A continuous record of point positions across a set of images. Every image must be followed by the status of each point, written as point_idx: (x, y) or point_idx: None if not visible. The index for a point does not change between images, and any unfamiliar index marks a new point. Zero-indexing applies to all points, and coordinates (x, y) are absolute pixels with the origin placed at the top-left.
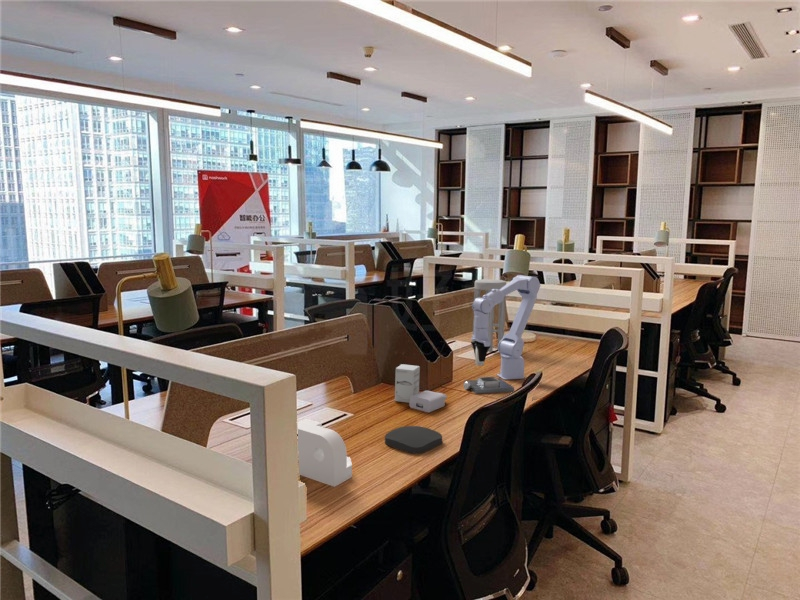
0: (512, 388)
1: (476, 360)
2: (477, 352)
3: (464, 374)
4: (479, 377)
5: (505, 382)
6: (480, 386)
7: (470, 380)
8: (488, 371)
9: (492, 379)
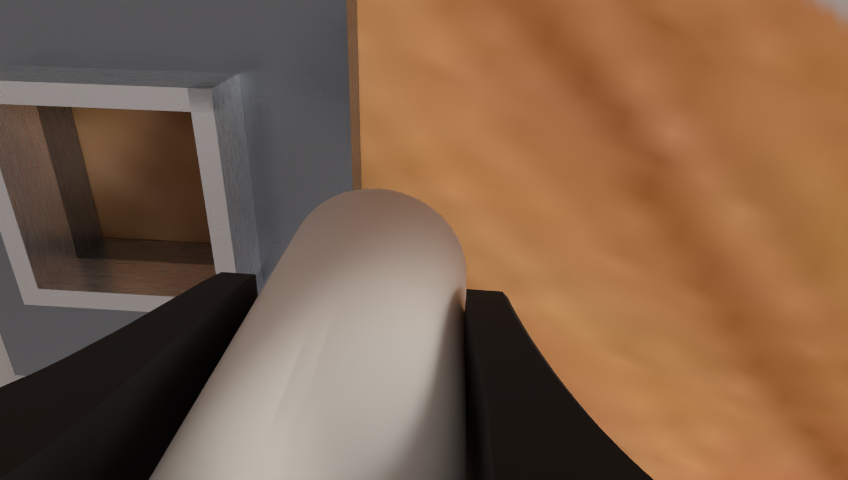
0: (16, 355)
1: (319, 237)
2: (227, 386)
3: (836, 125)
4: (209, 119)
5: None
6: (35, 29)
7: (344, 9)
8: (797, 439)
9: None
